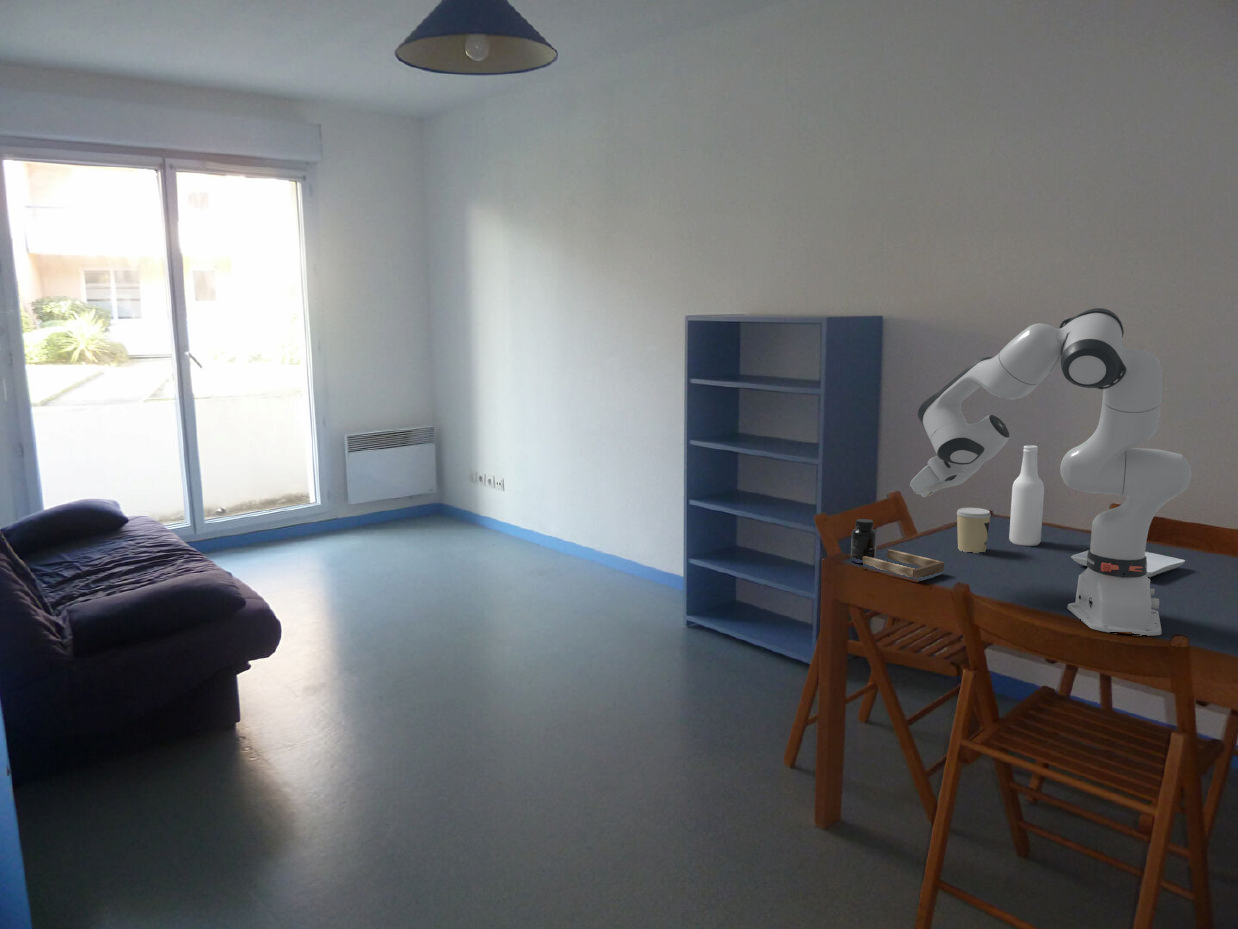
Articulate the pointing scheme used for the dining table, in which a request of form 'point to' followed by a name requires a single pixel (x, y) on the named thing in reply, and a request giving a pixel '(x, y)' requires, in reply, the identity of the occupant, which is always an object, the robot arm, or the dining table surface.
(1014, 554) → the dining table surface
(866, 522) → the supplement bottle
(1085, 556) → the salad plate
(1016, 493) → the alcohol
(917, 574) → the wooden tray
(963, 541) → the coffee cup
